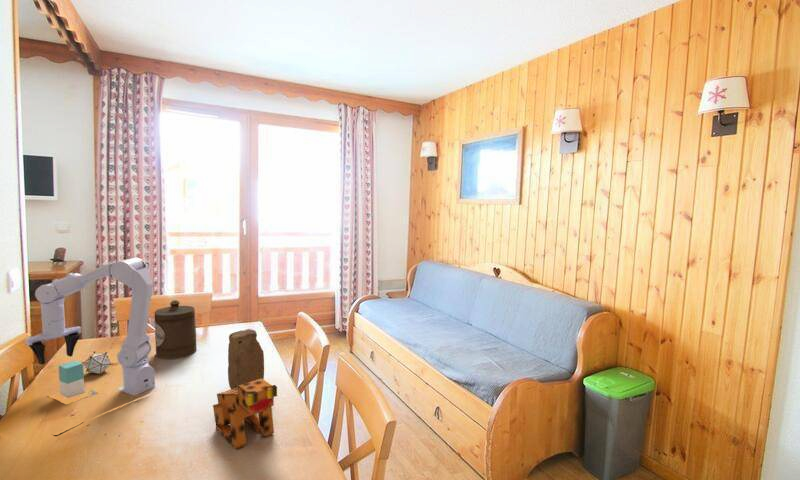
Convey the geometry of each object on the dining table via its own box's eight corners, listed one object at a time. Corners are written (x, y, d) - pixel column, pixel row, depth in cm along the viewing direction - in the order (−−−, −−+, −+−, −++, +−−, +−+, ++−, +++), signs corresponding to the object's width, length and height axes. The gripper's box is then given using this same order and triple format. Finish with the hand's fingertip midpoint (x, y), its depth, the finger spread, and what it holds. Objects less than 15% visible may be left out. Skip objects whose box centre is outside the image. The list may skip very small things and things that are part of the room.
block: (234, 397, 133) (233, 337, 131) (226, 388, 139) (225, 331, 137) (266, 387, 140) (265, 331, 138) (257, 379, 146) (257, 325, 144)
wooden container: (158, 348, 173) (156, 298, 171) (197, 344, 179) (195, 295, 177) (153, 361, 160) (151, 307, 158) (195, 356, 166) (194, 303, 164)
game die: (96, 386, 146) (79, 372, 139) (88, 372, 151) (72, 357, 144) (121, 369, 151) (107, 354, 144) (113, 355, 155) (98, 341, 148)
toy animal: (248, 412, 124) (247, 362, 122) (281, 441, 110) (281, 384, 108) (212, 426, 116) (211, 372, 114) (243, 458, 102) (242, 398, 100)
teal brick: (83, 378, 132) (82, 363, 131) (67, 383, 128) (66, 368, 127) (76, 375, 134) (75, 360, 133) (59, 380, 130) (58, 365, 129)
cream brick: (84, 393, 132) (83, 378, 132) (67, 399, 128) (67, 384, 128) (76, 389, 134) (76, 375, 134) (60, 395, 130) (59, 380, 130)
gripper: (72, 312, 141) (75, 350, 142) (19, 323, 128) (22, 365, 129) (84, 315, 138) (86, 354, 139) (30, 327, 125) (33, 369, 126)
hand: (56, 359), depth 134 cm, fingers open, 7 cm apart
